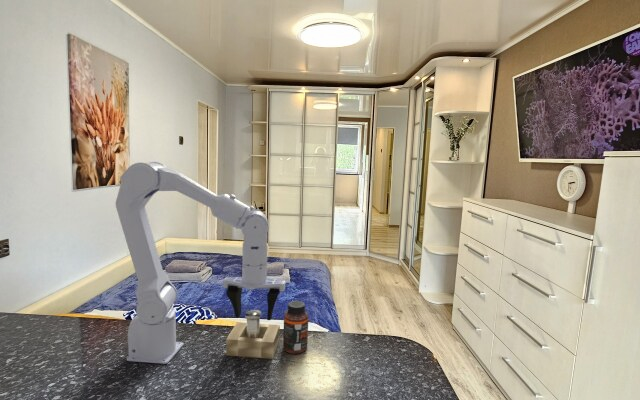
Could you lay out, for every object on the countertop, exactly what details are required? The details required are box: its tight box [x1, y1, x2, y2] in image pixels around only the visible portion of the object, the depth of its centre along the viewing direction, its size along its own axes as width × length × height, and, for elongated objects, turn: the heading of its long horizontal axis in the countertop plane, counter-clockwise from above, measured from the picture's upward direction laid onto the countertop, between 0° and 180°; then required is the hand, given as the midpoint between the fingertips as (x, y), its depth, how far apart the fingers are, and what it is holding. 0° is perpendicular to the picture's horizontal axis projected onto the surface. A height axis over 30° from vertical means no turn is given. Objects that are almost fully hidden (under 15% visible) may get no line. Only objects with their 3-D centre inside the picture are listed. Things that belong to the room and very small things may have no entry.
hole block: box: [225, 322, 281, 360], centre depth 81 cm, size 11×8×4 cm
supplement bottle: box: [282, 300, 309, 355], centre depth 81 cm, size 6×6×11 cm
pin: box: [244, 309, 262, 338], centre depth 80 cm, size 4×4×9 cm
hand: (253, 317), depth 80 cm, fingers open, 7 cm apart
